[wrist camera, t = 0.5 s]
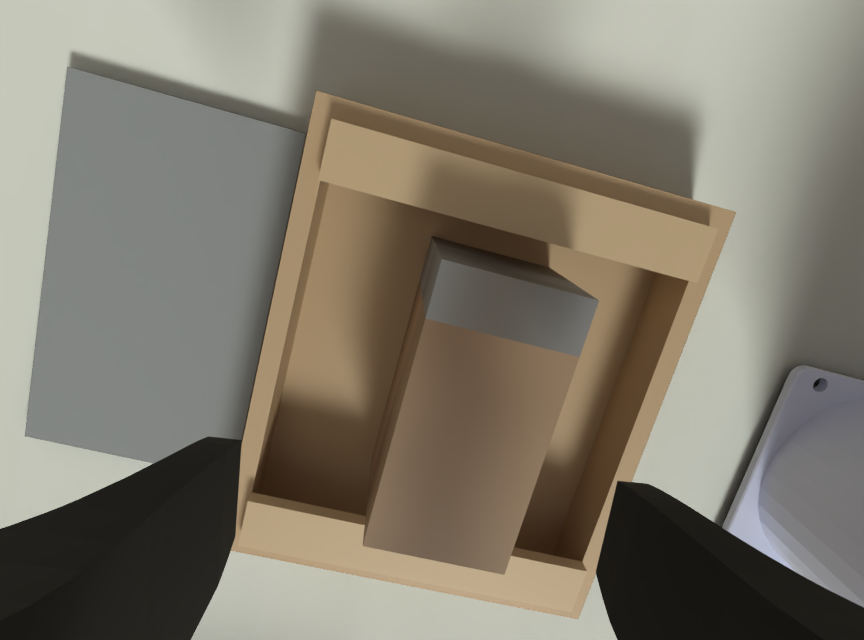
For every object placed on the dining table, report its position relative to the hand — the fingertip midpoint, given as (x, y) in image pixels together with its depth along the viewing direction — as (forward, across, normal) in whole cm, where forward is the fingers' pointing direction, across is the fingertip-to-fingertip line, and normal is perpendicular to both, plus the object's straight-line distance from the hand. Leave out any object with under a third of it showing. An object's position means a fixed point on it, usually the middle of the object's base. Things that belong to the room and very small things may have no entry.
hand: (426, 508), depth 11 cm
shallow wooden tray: (+9, -1, 0) cm, 9 cm away
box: (+9, -1, 0) cm, 9 cm away
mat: (+9, +9, -1) cm, 13 cm away
